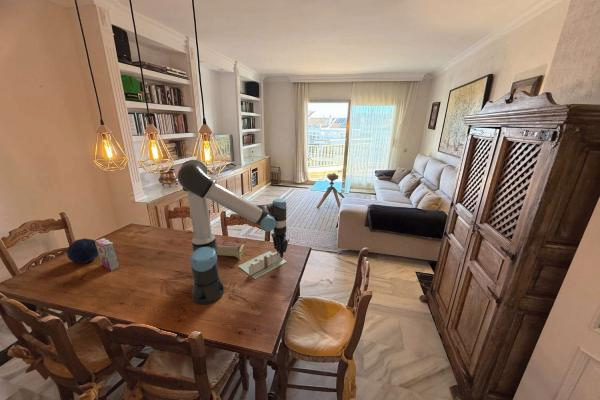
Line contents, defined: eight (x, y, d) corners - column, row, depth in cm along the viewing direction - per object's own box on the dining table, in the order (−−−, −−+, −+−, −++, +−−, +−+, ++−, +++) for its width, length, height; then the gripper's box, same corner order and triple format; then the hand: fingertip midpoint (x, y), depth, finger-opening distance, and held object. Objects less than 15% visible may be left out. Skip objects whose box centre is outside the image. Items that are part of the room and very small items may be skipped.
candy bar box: (101, 265, 140) (93, 240, 134) (111, 261, 144) (104, 237, 138) (110, 271, 134) (103, 246, 129) (120, 267, 138) (113, 242, 133)
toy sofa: (245, 253, 155) (244, 239, 152) (241, 260, 147) (239, 246, 144) (214, 251, 157) (212, 237, 153) (208, 258, 148) (206, 244, 145)
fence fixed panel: (250, 276, 132) (249, 265, 129) (248, 274, 133) (248, 263, 131) (267, 267, 140) (267, 256, 138) (266, 265, 141) (265, 255, 139)
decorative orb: (93, 259, 136) (94, 234, 140) (59, 265, 131) (61, 238, 135) (104, 261, 149) (104, 238, 153) (74, 266, 143) (75, 242, 148)
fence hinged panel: (268, 266, 140) (268, 256, 138) (266, 265, 141) (266, 255, 139) (282, 258, 148) (282, 249, 146) (280, 257, 149) (280, 248, 147)
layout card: (254, 279, 130) (254, 278, 130) (238, 266, 141) (238, 265, 141) (287, 261, 146) (286, 261, 146) (269, 251, 157) (269, 250, 157)
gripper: (292, 226, 134) (292, 262, 142) (276, 220, 142) (277, 254, 150) (283, 231, 128) (283, 268, 136) (267, 224, 137) (268, 259, 144)
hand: (280, 260), depth 143 cm, fingers closed
